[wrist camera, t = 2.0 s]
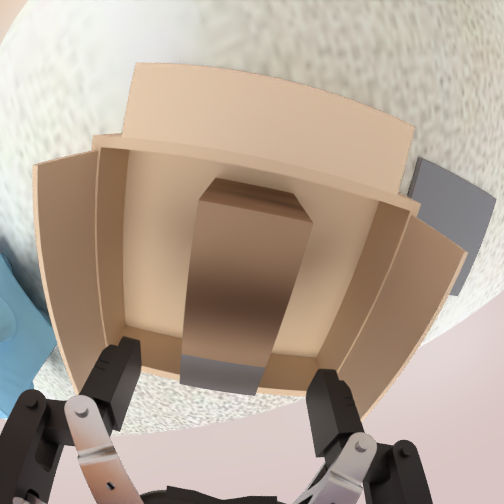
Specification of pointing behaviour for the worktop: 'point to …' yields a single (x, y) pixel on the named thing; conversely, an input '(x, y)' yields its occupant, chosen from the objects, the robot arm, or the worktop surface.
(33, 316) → the teakettle
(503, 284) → the worktop surface
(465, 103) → the worktop surface
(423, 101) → the worktop surface
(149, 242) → the carton
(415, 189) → the mat
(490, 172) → the worktop surface
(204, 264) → the bar
